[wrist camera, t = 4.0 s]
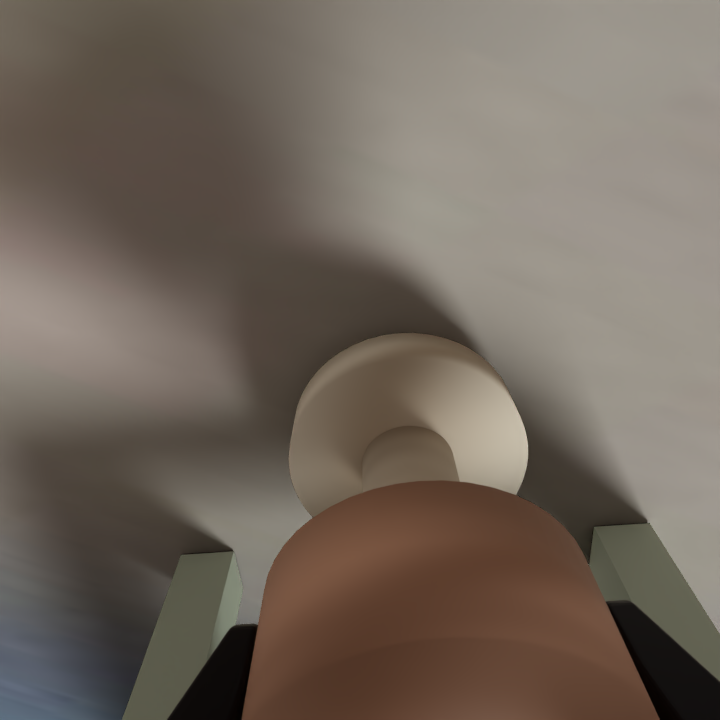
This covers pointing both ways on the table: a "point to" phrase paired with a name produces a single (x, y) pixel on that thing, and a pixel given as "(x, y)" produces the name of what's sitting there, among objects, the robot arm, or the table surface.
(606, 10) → the table surface
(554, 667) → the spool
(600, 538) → the keyhole board
